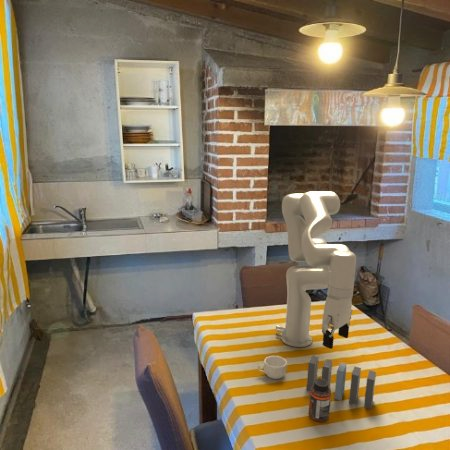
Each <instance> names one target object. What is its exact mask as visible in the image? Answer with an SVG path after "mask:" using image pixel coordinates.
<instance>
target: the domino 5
mask: <svg viewBox="0 0 450 450" xmlns="http://www.w3.org/2000/svg"><path fill="white" fill-rule="evenodd" d="M376 376H377V371H374V370H369V371H368V375H367V377H366V385H365V386H366V387H365V393H364V394H365V395H364V404H363V408H364V409H368V410H371V409H372V405H373V403H374V401H373V400H374V394H375V384H376Z"/></svg>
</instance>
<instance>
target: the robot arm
mask: <svg viewBox="0 0 450 450" xmlns="http://www.w3.org/2000/svg"><path fill="white" fill-rule="evenodd" d="M340 209H341V199H340V197H339V196H338V194H337V193H335V192H334V191H330V190H329V191H325V190H324V191H323V190H321V191H320V190H319V191H316V190H314V191H313V190H312V191H307V192H304V193H301V192H298V193H289V194H286V195H285V196H284V197H283V199H282V200H281V212H282V216H283V220H284V222H285V225H286V229H287V230H286V231H287V245H288V246H287V248H288V249H287V250H288V257H289V259H290V260H291V261H293V262H296V263H297V262H298V263H306V264H303V265H302V264H301V265H299V264H298V265H293V266H290V267H289V268H288V269H287V270H286V274H285V278H286V288H287V291H286V292H287V294H286V295H287V296H286V297H287V298H286V310H285V311H286V312H285V313H286V314H285V325H284V326H282V325H279V324H276V325H275V330H276V333H280V334H281V336H280V340H281V341H282V342H283V343H284V344H285V345H288V346H290V347H295V348H305V347H308V346H310V345H311V344H312V343H313V337H312V336H311V335H310V324H311V323H310V322H311V311H312V309H311V308H312V300H311V297H310V295H309V294H308V292H306V291H308V290H324V289H327V293H326V299H325V303H324V308H323V312H322V313H323V315H322V323H321V332H322V346H323V347H326V348H327V349H329V350H332V349H333V348H334V341H335V340H334V337H335V336H334V334H335V331H336V330H338V331H337V334H338V336H339V337H342V338H345V339H348V338H349V333H350V332H349V330H350V325H351V322H350V321H351V319H352V313H353V309H352V307H353V306H352V305H353V304H352V299H353V296H354V288H355V287H354V285H355V278H356V277H355V275H356V267H357V256H356V254H355V253H354V252H353V251H351V250H350V249H349V247H348V246H347V245H345V244H343V243H342V244H341V243H333V244H332V243H327V241H326V240H325V239H324V238H323V237H321V238H320V237H319V236H321V235H323V234H325V233H327V232H328V231H329V230H330V229H331V228H332V226H333V220H332V217H331V216H332V215H336V214H338V213H339V211H340ZM302 216H303V217H302ZM329 329H330V330H329Z"/></svg>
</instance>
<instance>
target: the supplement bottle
mask: <svg viewBox="0 0 450 450" xmlns="http://www.w3.org/2000/svg"><path fill="white" fill-rule="evenodd" d="M331 396H332V390H331V389H329V387H328V382H327V381H326V380H325V379H322V377H321V378H320V377H319V378H318V377H317V379H315V381H314V385H313V386H312V387H311V389H310V391H309V402H308V415H309V418H311V420H313V421H316V422H319V423H321V422H325V421H327V420H329V416H330V411H331V410H330V407H331V398H332V397H331Z"/></svg>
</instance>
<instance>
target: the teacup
mask: <svg viewBox="0 0 450 450" xmlns="http://www.w3.org/2000/svg"><path fill="white" fill-rule="evenodd" d="M287 366H288V361H287V359H286V358H284V357H283V356H281V355H269V356H266V357H265V358H264V362H263V363H260V364H259V365H258V366H257V370H258V371H259V372H261V373H264V374H266V376H267V377H269V378H270V379H272V380H273V379H274V380H279V379H282V378H283V377H284V376H285V375H286V373H287ZM260 367H263V369H260Z"/></svg>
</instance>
